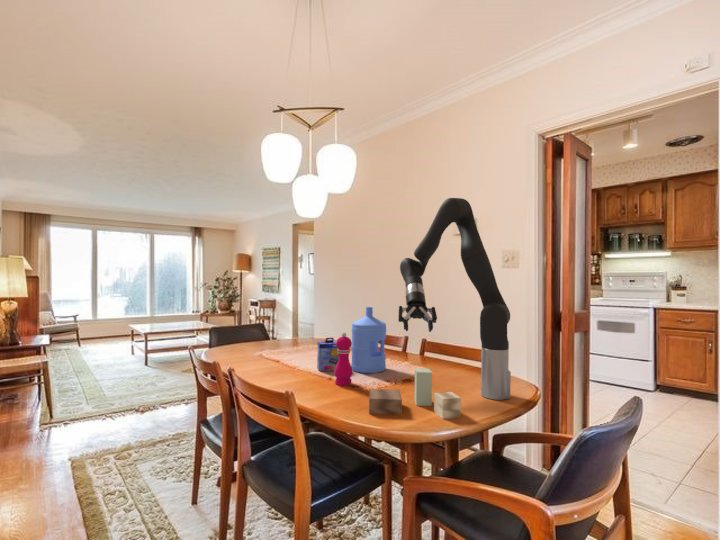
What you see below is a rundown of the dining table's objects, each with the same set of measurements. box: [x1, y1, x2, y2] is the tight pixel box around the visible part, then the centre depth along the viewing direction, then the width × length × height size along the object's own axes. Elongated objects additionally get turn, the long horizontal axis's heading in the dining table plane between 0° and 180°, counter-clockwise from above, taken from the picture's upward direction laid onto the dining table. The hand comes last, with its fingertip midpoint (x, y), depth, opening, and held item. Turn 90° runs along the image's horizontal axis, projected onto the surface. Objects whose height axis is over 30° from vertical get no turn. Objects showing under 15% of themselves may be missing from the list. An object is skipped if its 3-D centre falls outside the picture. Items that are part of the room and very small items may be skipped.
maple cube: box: [433, 391, 462, 420], centre depth 119 cm, size 6×6×6 cm
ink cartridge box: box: [316, 337, 339, 372], centre depth 172 cm, size 10×6×14 cm, turn 107°
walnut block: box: [368, 388, 403, 416], centre depth 123 cm, size 10×10×5 cm
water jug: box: [350, 306, 387, 374], centre depth 173 cm, size 16×16×28 cm
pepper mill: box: [333, 332, 354, 387], centre depth 150 cm, size 7×7×20 cm
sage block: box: [413, 368, 433, 407], centre depth 129 cm, size 5×5×11 cm
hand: (418, 330), depth 140 cm, fingers open, 8 cm apart
